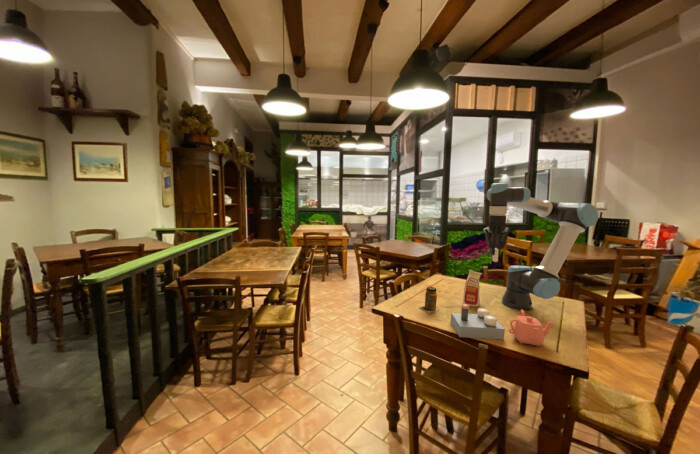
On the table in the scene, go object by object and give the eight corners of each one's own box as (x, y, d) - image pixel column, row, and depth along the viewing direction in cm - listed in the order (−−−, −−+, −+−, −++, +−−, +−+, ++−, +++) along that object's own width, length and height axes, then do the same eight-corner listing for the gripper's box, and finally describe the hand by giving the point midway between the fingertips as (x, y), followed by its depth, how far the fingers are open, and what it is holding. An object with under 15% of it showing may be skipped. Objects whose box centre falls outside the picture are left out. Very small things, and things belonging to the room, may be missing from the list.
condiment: (439, 309, 150) (440, 288, 148) (429, 313, 145) (430, 291, 144) (428, 305, 156) (430, 285, 154) (418, 308, 151) (419, 287, 150)
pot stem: (466, 318, 129) (467, 304, 128) (469, 321, 125) (470, 307, 124) (459, 317, 129) (460, 303, 128) (461, 321, 126) (462, 306, 125)
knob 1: (485, 323, 133) (486, 308, 132) (489, 328, 128) (491, 313, 127) (474, 322, 134) (476, 308, 133) (478, 327, 129) (480, 312, 128)
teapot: (519, 329, 129) (521, 307, 128) (553, 344, 117) (556, 320, 115) (500, 336, 122) (503, 313, 121) (534, 353, 110) (537, 327, 108)
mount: (490, 324, 134) (490, 314, 133) (503, 339, 120) (504, 328, 119) (450, 322, 135) (451, 312, 134) (459, 337, 121) (460, 326, 121)
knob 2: (492, 331, 125) (493, 315, 124) (497, 337, 120) (498, 320, 119) (481, 330, 126) (482, 315, 125) (485, 336, 121) (487, 320, 120)
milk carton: (463, 304, 158) (465, 271, 155) (463, 299, 166) (465, 267, 164) (480, 307, 154) (483, 273, 152) (479, 301, 163) (482, 269, 160)
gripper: (507, 214, 138) (504, 259, 141) (480, 214, 138) (478, 259, 141) (515, 215, 130) (512, 263, 133) (487, 215, 131) (485, 263, 134)
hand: (494, 261), depth 137 cm, fingers closed
